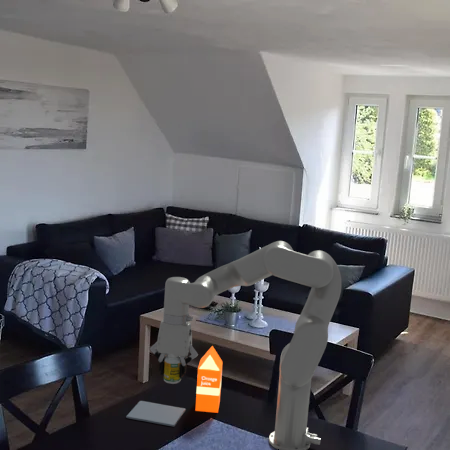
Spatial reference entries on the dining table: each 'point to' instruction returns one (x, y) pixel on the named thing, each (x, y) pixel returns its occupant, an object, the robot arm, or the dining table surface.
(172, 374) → the supplement bottle
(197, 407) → the orange juice
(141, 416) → the felt mat
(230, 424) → the dining table surface
